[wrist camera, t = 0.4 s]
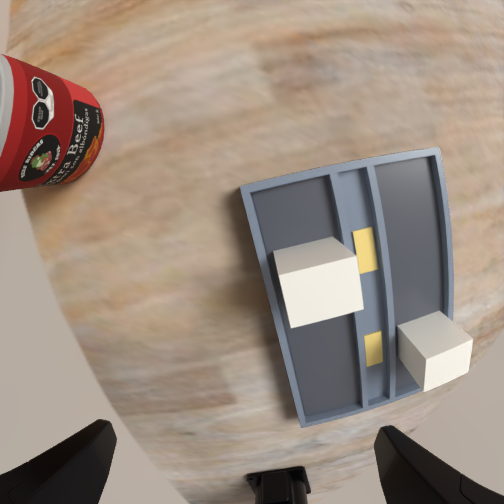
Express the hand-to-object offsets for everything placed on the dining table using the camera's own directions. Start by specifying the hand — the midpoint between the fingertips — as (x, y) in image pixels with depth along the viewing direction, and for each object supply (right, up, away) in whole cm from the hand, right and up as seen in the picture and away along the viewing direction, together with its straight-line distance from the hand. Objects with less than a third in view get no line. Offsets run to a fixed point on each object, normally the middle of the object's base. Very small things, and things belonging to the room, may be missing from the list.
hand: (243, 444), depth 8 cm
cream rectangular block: (+14, 0, +13) cm, 19 cm away
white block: (+4, +5, +12) cm, 13 cm away
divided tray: (+9, +3, +14) cm, 16 cm away
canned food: (-14, +15, +11) cm, 23 cm away
